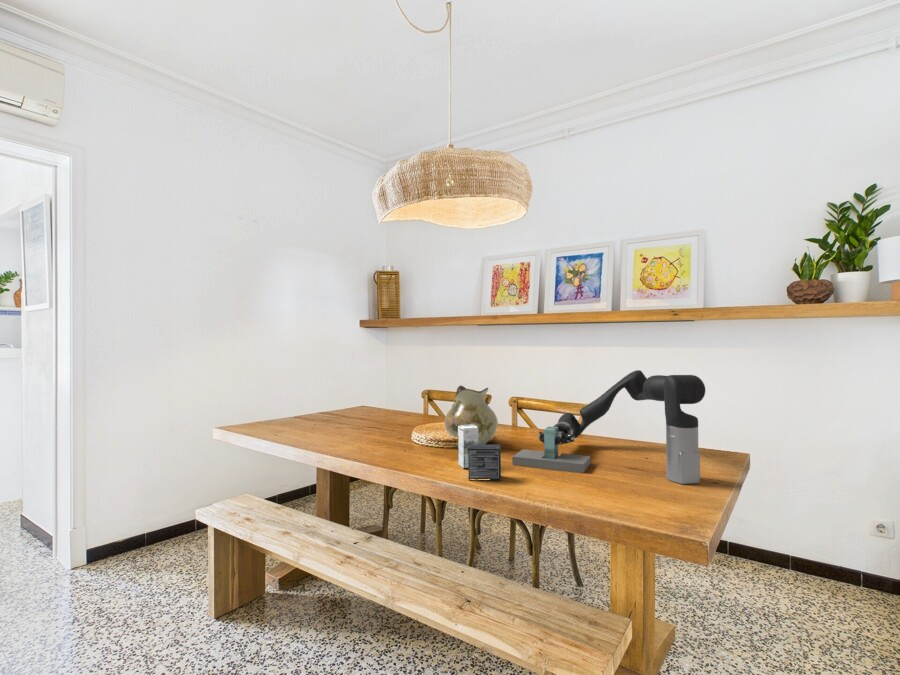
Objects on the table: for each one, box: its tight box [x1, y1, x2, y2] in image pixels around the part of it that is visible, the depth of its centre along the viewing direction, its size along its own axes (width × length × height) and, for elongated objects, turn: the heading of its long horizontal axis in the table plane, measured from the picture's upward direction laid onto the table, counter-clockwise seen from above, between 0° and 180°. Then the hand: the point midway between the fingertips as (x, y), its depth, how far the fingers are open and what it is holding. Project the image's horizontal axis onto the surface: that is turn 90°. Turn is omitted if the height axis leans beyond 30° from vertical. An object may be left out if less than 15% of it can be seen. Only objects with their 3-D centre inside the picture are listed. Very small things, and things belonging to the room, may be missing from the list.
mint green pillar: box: [543, 425, 559, 460], centre depth 171 cm, size 6×4×13 cm, turn 154°
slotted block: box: [511, 448, 591, 474], centre depth 171 cm, size 12×25×3 cm, turn 64°
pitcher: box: [444, 385, 498, 445], centre depth 202 cm, size 22×24×25 cm
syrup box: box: [457, 425, 478, 469], centre depth 169 cm, size 6×6×14 cm
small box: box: [467, 444, 502, 481], centre depth 155 cm, size 11×6×10 cm, turn 84°
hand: (549, 441), depth 169 cm, fingers closed on mint green pillar, 3 cm apart
